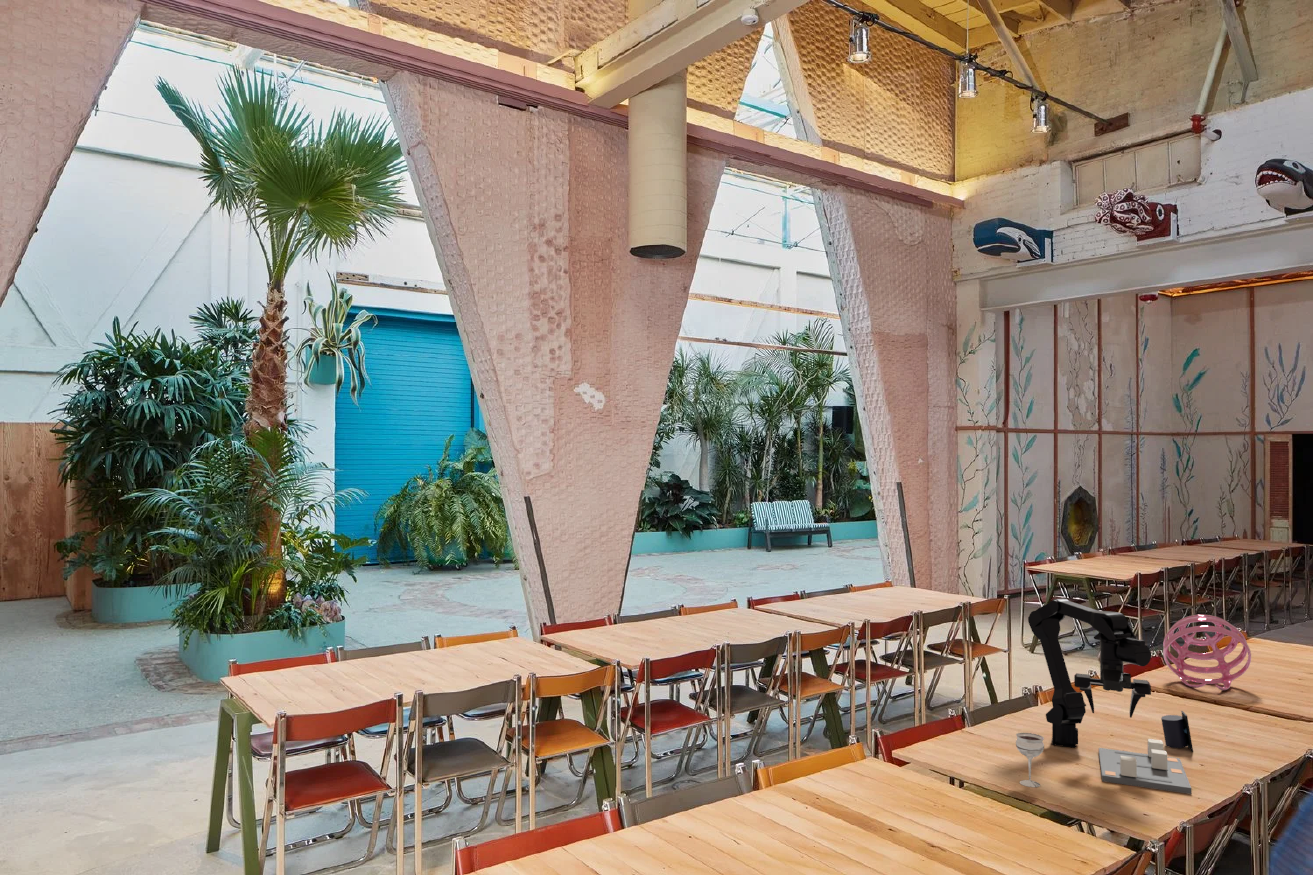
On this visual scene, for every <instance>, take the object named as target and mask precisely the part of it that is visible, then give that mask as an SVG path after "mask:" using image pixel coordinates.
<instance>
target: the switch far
mask: <svg viewBox="0 0 1313 875" xmlns="http://www.w3.org/2000/svg"><path fill="white" fill-rule="evenodd" d="M1151 749H1155V750H1163V751H1164V742H1163V740H1161V739H1153V738H1147V754H1148V756H1149V757H1151Z"/></svg>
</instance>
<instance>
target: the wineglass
mask: <svg viewBox="0 0 1313 875" xmlns="http://www.w3.org/2000/svg"><path fill="white" fill-rule="evenodd" d="M1015 736H1016V740H1015V747H1016V749H1017V751H1018V752H1019V753H1020V754H1022V755H1023V756H1024V757H1026V759H1027V763H1028V779H1023V780H1020V781H1019V784H1020V785H1022V786H1024V787H1028V788H1039V787H1041V784H1040V782H1037V781H1034V780H1032V778H1031V777H1032V761H1033V760H1034V758H1036V757H1039V756H1040V755H1041V754H1043V752H1044V751H1045V750H1044V749H1045V744H1044V739H1045V738H1044V736H1042V735H1040V734H1037V733H1032V732H1018V733H1016V734H1015Z"/></svg>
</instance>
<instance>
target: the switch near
mask: <svg viewBox="0 0 1313 875" xmlns="http://www.w3.org/2000/svg"><path fill="white" fill-rule="evenodd" d="M1120 771H1121V775H1123V776H1130V777H1137V761H1136V758H1135V757H1127V756H1120Z"/></svg>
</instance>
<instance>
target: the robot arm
mask: <svg viewBox="0 0 1313 875" xmlns="http://www.w3.org/2000/svg"><path fill="white" fill-rule="evenodd" d="M1066 617H1069V618H1072V619H1074V620H1077V621H1080V622H1083V623H1086V624H1088V625H1090V626H1091V628H1093V629H1094V630H1095V631H1097V632H1098V633H1097V634H1096V635H1094V636H1093V639H1094V640H1097V641H1099V644H1100V645H1099V648H1100V649H1099V657H1100V658H1099V663H1100V664H1099V669H1100V674H1099V678H1095V677H1094V678H1093V677H1091V675H1090V674H1088V673H1087V674H1086V673H1077V672H1076V673H1075V674H1074V678H1073V683H1074V687H1075V688H1079V691H1077V690H1075V689H1074V687H1073V685H1072V682H1071V679H1070V676H1069V673H1068V669H1067V665H1066V661H1065V658H1064V655H1063V651H1062V648H1061V644H1060V641H1059V636H1060V632H1061V623H1060V622H1062V621H1063V620H1064V619H1065V618H1066ZM1027 621H1028V622H1027V623H1028V624H1029V626H1030V629H1031V632H1032V635H1034V636H1035V637H1036V638H1037V639H1038V640H1039V642H1040V644H1041V649H1042V651H1043V654H1044V658H1045V662H1046V666H1047V669H1048V672H1049V676H1050V680H1051V682H1052V686H1053V694H1052V697H1051V704H1052V708H1051V709H1050V710H1048V712H1046V713H1045V719H1046V722H1048V723H1050V724H1052V727H1051V728H1052V729H1051V730H1052V731H1051V733H1052V734H1051V736H1052V737H1051V745H1052V746H1059V747H1066V748H1074V749H1077V745H1079V728H1077V724H1082V721H1083V718H1084V716H1085V714H1086V712H1087V711H1086V707H1087V704H1086V702H1085V700H1084V695H1083V693H1084V694H1085V696H1086V698H1087V701H1088V703H1089V707H1090V710H1091V713H1092V714H1095V705H1094V697H1093V691H1092V686H1098V687H1102V689H1103V690H1105V691H1108V692H1109V691H1113V692H1115V691H1116V692H1119V693H1121V692H1123V691H1124V689H1126V690H1131V695H1130V702H1129V703H1130V704H1129V718H1133V715H1134V712H1135V710H1136V707H1137V705H1138V703H1139V701H1140V699H1141V698H1146V696H1147V695H1148V696H1150V695H1152V686H1151V683H1150V682H1149V681H1148V680H1147V679H1146V680H1145V679H1137V678H1136V679H1135V678H1133V680H1132V675H1131V673H1128V672H1127V673H1126V672H1124V663H1128V664H1131V665H1136V666H1139V667H1146V666H1147V665H1148V664H1149V663H1150V661H1151V660H1152V659H1151V658H1152V653H1151V652H1152V651H1151V650H1150V648H1149V647H1148V646H1147V645H1146V641H1145V640H1144V639H1137V637H1136V635H1135V632H1134V631H1133V630H1132V628H1131V626H1130V624H1129V623H1128V620H1127V618H1126V616H1125V615H1124V614H1123V613H1121V612H1116V611H1110V610H1109V611H1106V610H1097V609H1094V608H1092V607H1089V606H1085V605H1083V604H1080V603H1077V602H1073V601H1071V600H1069V599H1067V598H1053V599H1052V600H1050V601H1049V602H1048V603H1046V604H1045V605H1043V606H1040V607H1039V608H1037V609H1036V610H1033V611H1031V612H1030V614H1029V616H1028V617H1027ZM1081 691H1082V692H1081Z"/></svg>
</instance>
